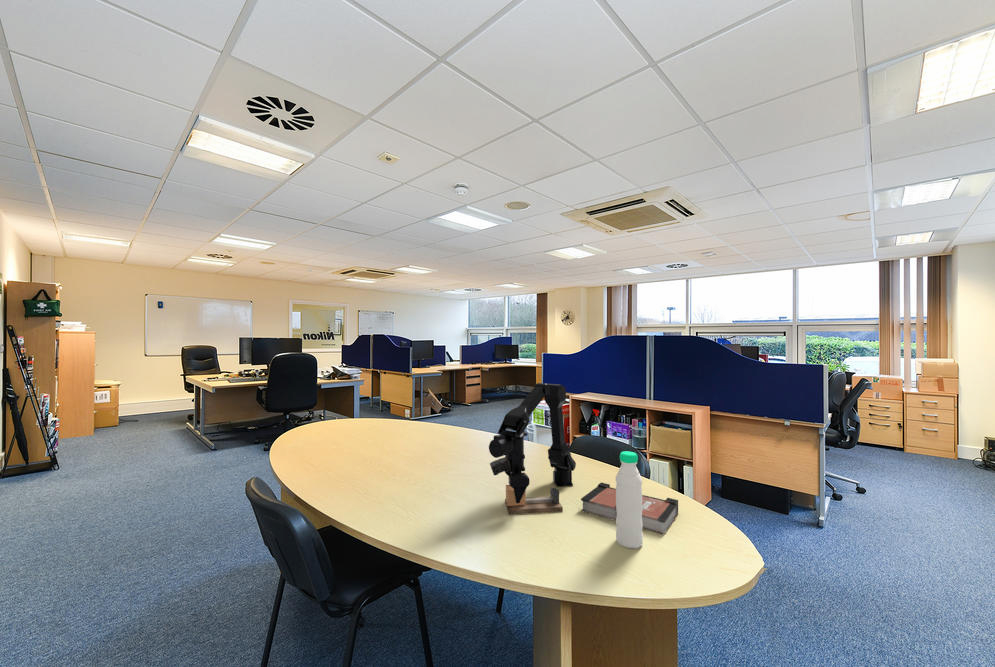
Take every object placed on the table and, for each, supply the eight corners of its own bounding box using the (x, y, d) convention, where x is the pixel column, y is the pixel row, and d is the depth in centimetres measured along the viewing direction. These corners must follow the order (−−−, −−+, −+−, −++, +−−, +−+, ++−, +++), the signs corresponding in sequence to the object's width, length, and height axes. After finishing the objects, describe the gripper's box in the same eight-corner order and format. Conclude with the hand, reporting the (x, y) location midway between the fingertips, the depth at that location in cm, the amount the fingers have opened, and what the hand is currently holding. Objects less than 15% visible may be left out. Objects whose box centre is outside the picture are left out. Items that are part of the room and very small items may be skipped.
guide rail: (556, 499, 136) (556, 487, 136) (559, 504, 132) (559, 492, 132) (507, 501, 134) (507, 489, 134) (509, 506, 130) (508, 494, 130)
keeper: (523, 499, 135) (522, 484, 135) (525, 505, 130) (525, 489, 130) (505, 500, 134) (505, 484, 134) (507, 506, 129) (507, 490, 130)
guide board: (555, 500, 138) (555, 496, 138) (562, 511, 129) (562, 507, 129) (505, 503, 136) (505, 498, 136) (508, 514, 127) (508, 509, 127)
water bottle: (629, 552, 105) (628, 458, 105) (610, 540, 111) (610, 451, 111) (648, 545, 108) (647, 454, 108) (628, 534, 114) (628, 448, 115)
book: (580, 513, 129) (580, 497, 130) (601, 496, 143) (601, 482, 143) (663, 537, 114) (663, 519, 114) (678, 515, 127) (678, 500, 127)
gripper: (489, 444, 141) (489, 488, 141) (494, 460, 122) (494, 510, 122) (519, 443, 142) (520, 486, 142) (529, 458, 124) (529, 508, 123)
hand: (515, 497), depth 132 cm, fingers open, 9 cm apart
